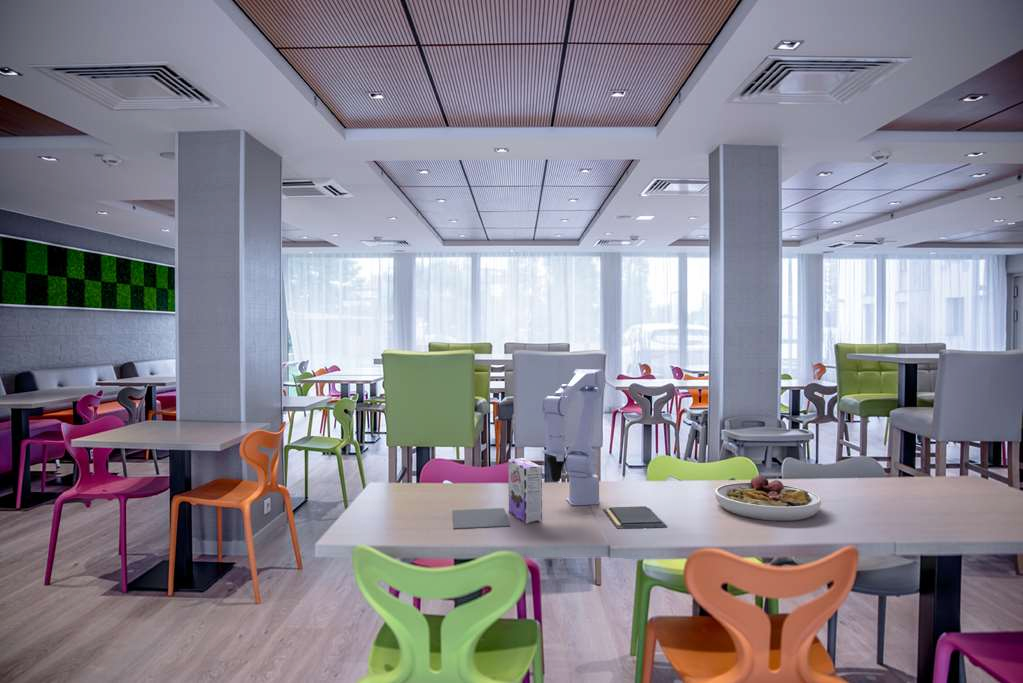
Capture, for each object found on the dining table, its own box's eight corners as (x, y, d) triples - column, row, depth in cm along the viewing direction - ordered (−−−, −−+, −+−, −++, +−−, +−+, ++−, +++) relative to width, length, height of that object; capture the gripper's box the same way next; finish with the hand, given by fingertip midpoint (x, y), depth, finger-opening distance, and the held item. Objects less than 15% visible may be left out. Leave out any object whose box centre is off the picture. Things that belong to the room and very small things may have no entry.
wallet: (668, 523, 168) (614, 524, 168) (668, 530, 168) (614, 531, 168) (650, 504, 188) (602, 505, 188) (650, 510, 188) (602, 511, 188)
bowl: (834, 527, 169) (834, 498, 169) (722, 521, 175) (722, 494, 175) (805, 499, 198) (804, 475, 198) (710, 495, 204) (709, 472, 204)
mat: (504, 509, 189) (504, 508, 189) (510, 526, 171) (510, 525, 171) (452, 511, 188) (452, 510, 188) (453, 529, 170) (453, 528, 170)
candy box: (507, 511, 186) (507, 458, 186) (525, 509, 188) (524, 457, 188) (524, 524, 173) (523, 467, 173) (543, 521, 176) (542, 465, 175)
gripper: (538, 432, 189) (539, 475, 189) (546, 440, 174) (547, 486, 174) (560, 431, 189) (561, 475, 189) (570, 439, 175) (570, 485, 175)
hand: (556, 480), depth 182 cm, fingers closed
